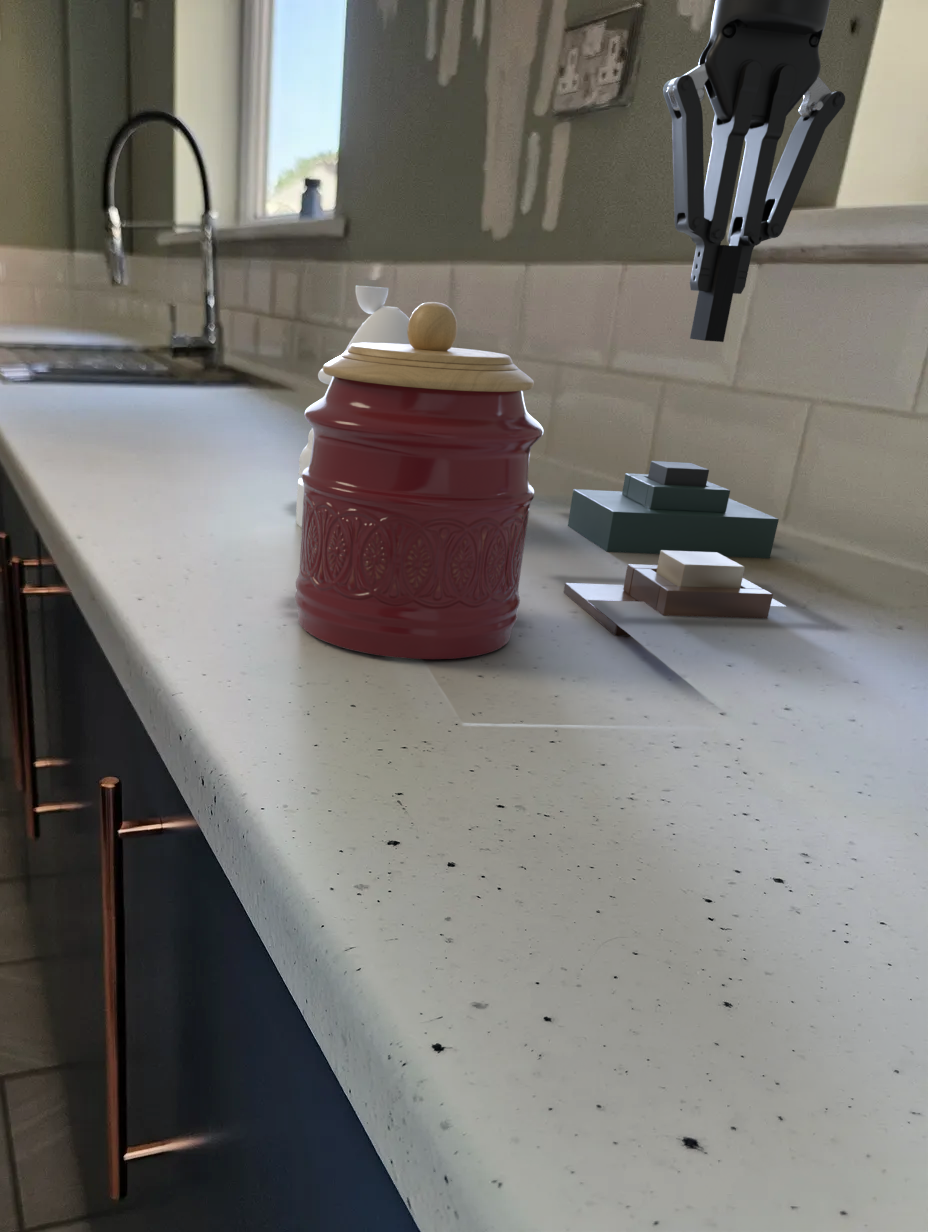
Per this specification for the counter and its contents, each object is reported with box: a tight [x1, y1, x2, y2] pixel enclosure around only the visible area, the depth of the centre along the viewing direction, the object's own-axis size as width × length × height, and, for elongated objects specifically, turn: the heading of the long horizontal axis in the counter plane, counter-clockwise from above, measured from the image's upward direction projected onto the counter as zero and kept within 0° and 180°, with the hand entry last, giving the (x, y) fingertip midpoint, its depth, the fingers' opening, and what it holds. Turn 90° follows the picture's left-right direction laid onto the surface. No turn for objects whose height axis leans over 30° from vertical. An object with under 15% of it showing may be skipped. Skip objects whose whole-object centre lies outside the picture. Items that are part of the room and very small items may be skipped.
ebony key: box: [648, 460, 710, 487], centre depth 93 cm, size 4×4×2 cm
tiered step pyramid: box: [567, 472, 780, 559], centre depth 94 cm, size 14×10×5 cm
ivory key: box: [656, 550, 746, 588], centre depth 72 cm, size 4×4×2 cm
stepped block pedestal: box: [563, 563, 786, 637], centre depth 73 cm, size 14×10×2 cm
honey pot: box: [295, 285, 410, 528], centre depth 90 cm, size 13×13×18 cm
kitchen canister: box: [294, 301, 545, 660], centre depth 62 cm, size 13×13×18 cm
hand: (706, 339), depth 86 cm, fingers closed
